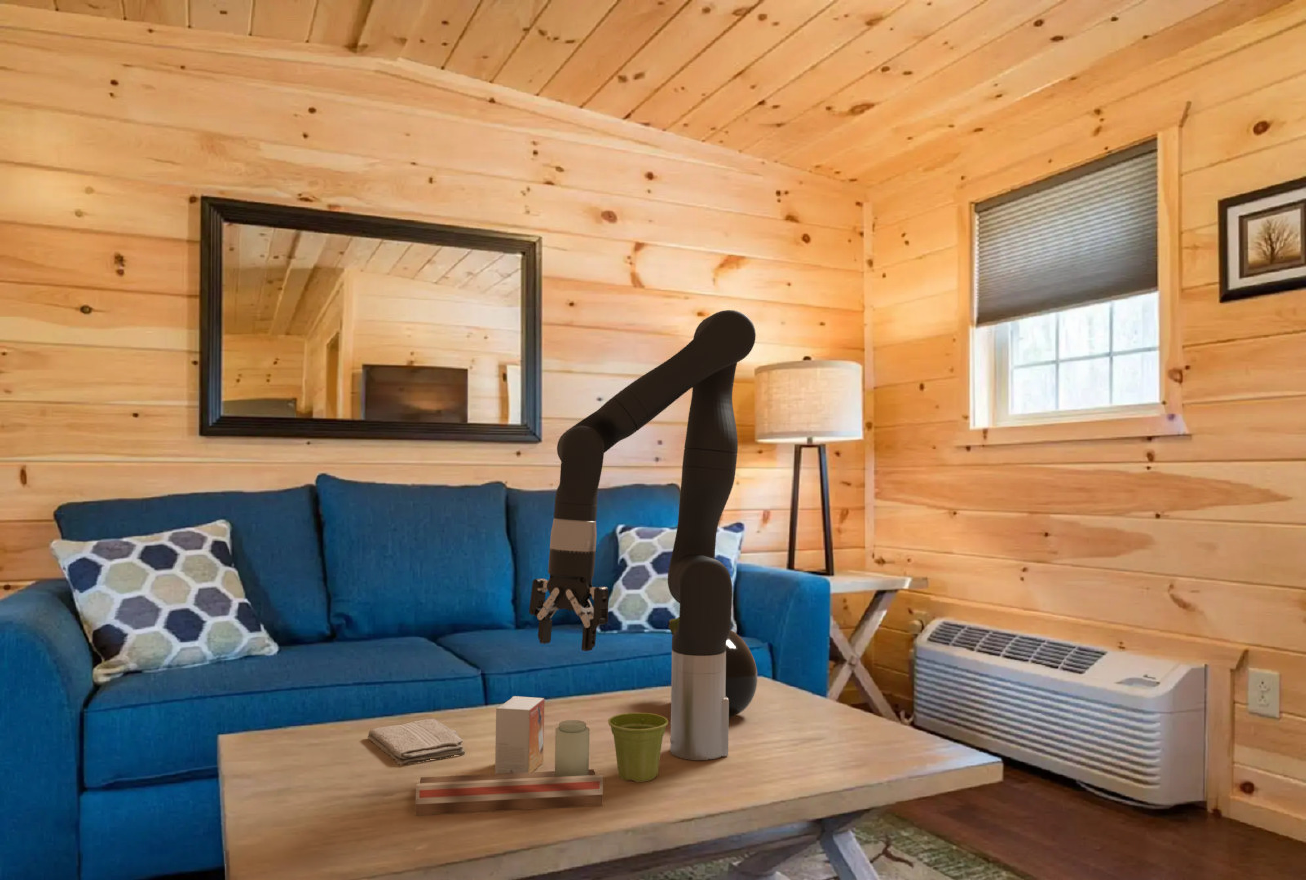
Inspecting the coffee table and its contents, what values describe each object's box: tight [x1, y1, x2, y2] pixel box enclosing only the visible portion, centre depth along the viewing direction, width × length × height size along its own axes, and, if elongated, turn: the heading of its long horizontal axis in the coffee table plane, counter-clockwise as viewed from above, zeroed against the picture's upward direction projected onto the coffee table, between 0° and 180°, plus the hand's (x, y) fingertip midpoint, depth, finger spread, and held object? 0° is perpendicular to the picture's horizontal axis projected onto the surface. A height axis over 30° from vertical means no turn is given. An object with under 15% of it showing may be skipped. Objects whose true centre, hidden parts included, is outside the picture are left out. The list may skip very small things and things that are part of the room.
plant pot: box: [607, 712, 669, 783], centre depth 145 cm, size 9×9×9 cm
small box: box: [494, 695, 546, 774], centre depth 148 cm, size 8×6×10 cm
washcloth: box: [367, 718, 466, 766], centre depth 158 cm, size 12×18×3 cm, turn 35°
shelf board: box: [414, 768, 604, 816], centre depth 136 cm, size 26×11×4 cm, turn 100°
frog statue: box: [667, 616, 758, 718], centre depth 186 cm, size 19×16×25 cm
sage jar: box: [554, 719, 590, 777], centre depth 137 cm, size 5×5×9 cm
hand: (565, 646), depth 152 cm, fingers open, 8 cm apart
